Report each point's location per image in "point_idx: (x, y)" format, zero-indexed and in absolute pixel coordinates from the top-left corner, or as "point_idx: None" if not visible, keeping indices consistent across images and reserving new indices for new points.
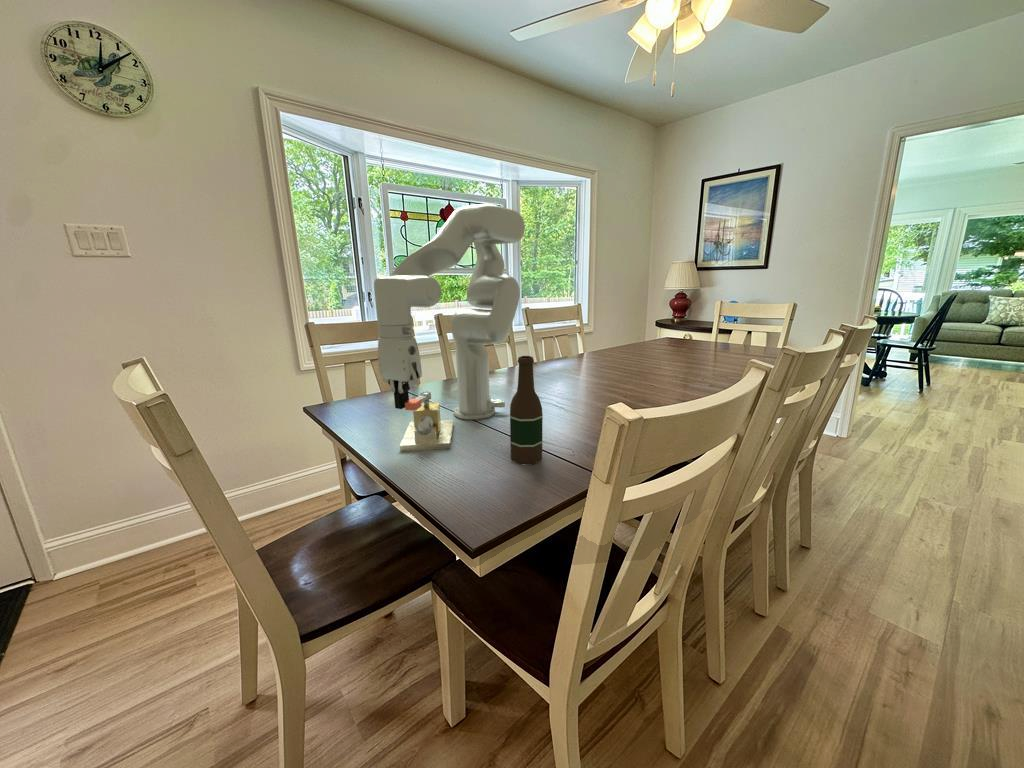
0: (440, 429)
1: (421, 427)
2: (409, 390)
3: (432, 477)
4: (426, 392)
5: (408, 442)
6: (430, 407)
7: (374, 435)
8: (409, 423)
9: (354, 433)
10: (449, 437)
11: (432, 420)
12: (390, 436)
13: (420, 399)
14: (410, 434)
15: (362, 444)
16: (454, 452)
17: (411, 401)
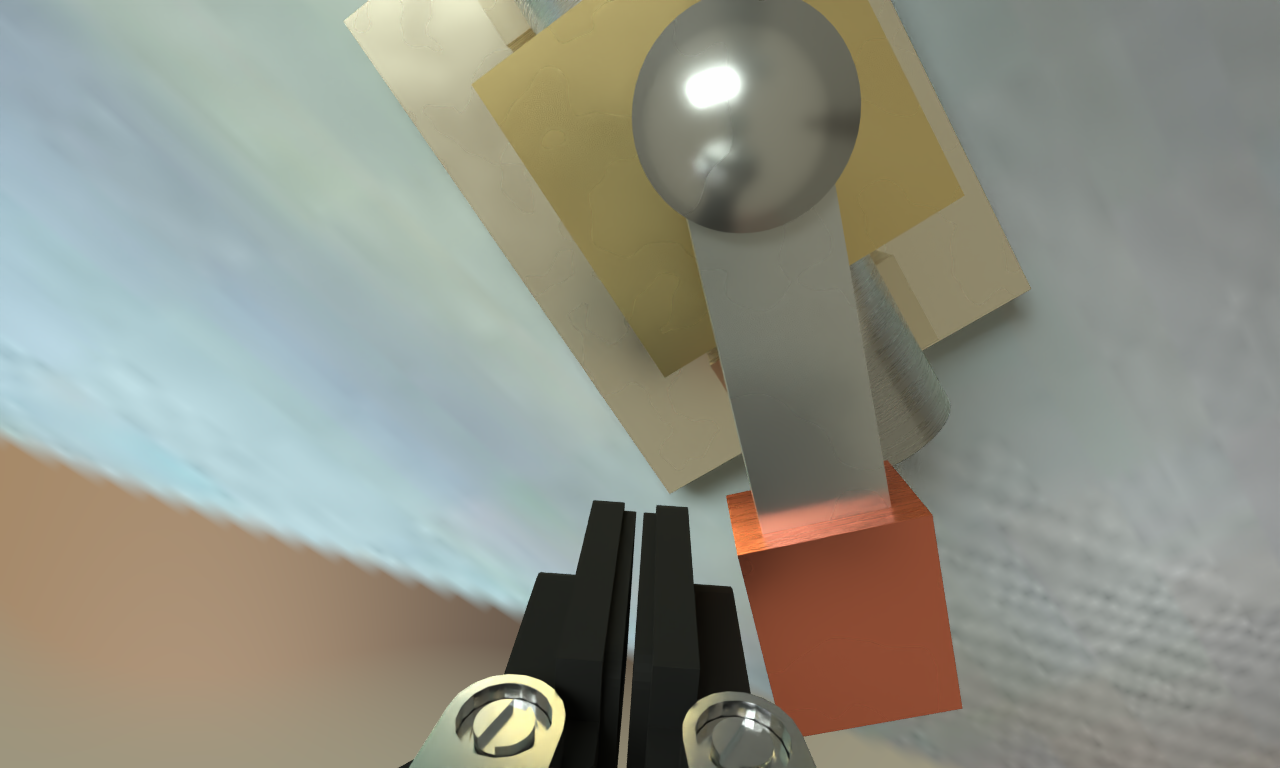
0: None
1: None
2: (780, 722)
3: (1088, 648)
4: (724, 56)
5: (691, 424)
6: None
7: (266, 344)
8: (377, 69)
9: (100, 384)
10: (969, 185)
11: (873, 263)
12: (393, 303)
13: (929, 527)
14: (591, 290)
15: (338, 500)
16: (1068, 318)
17: (843, 661)
